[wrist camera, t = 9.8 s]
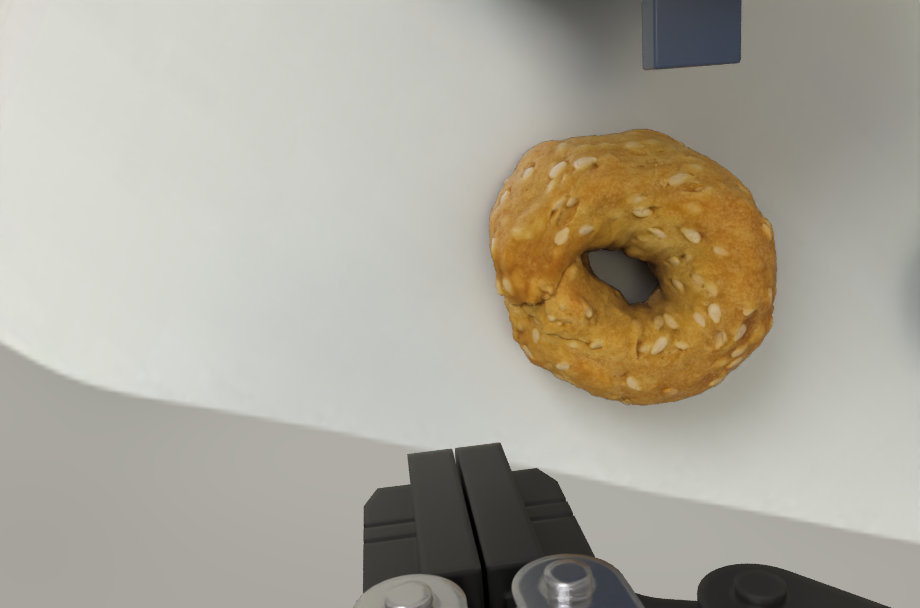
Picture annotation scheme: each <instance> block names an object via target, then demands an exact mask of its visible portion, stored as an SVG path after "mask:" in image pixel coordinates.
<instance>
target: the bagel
mask: <svg viewBox="0 0 920 608" xmlns="http://www.w3.org/2000/svg"><path fill="white" fill-rule="evenodd" d="M489 233H490V251H491V256H492V259H493V262H494V267H495V270H496V288H497V291H498V294H500V295H501V296H502V295H503V296H504V299H505V305H506V308H507V310H508V312H509V319H510V321H511V323H512V330H513V338H514V340H515V341H516V342H518V343H519V344H520V347H521V348H522V349H523V351H524V352H525V354H526V355H527V357H528V358H529V360H530V361H531V362H532V363H533V364H535V365H537V366H540V367H542V368H544V369H547V370H549V371H551V372H552V373H553V374H554V375H555V376H556V377H557V378H560V379H561V380H564V381H567V382H570V383H571V384H573V385H575V386H576V387H578V388H582V389H584V390H586V391H588V392H589V393H590V394H591V395H594V396H599V397H603V398H606V399H609V400H617V401H620V402H622V403H624V404H625V405H630V404H632V405H651V404H659V403H667V402H675V401H679V400H682V399H685V398H688V397H691V396H695V395H698V394H701V393H702V392H704V391H706V390H708V389H710V388H712V387H714V386H716V385H718V384H719V383H721V382H722V381H723V380H724V378H725V377H726V376H727V375H728V374H729V373H730V372H731V371H732V370H734V369H736V368H737V367H738V366H739V365H740V364H741V363H742V362H743V361H744V360H745V359H746V358H748V357H749V355H750V354H751V353H752V352H753V351H754V350H755V349H756V348H757V347H758V346H759V345H760V344H761V343H762V341H763V339H764V337H765V336H766V335H767V333H768V332H769V330H770V329H771V326H772V323H773V317H772V313H773V310H774V306H773V303H774V299H775V295H776V272H777V266H776V250H775V242H774V232H773V229H772V226H771V224H770V222H769V221H768V219H766V218H764V217H763V216H762V214H761V212H760V211H759V210H758V209H757V207H756V205H755V202H754V199H753V196H752V194H751V193H750V191H749V190H748V188H747V187H745V186H744V185H743V184H742V183H741V182H740V180H739V179H737V178H736V177H735V176H734V175H732V174H731V173H730V172H729V171H728V170H727V169H725V168H723V167H722V166H720V165H719V164H717V163H716V162H715V161H713V160H711V159H710V158H708V157H707V156H705V155H702V154H700V153H697V152H696V151H694V150H692V149H690V148H689V147H686V146H685V145H684V144H683V143H681V142H679V141H676V140H674V139H673V138H671V137H669V136H667V135H666V134H663V133H660V132H657V131H653V130H648V129H635V130H629V131H625V132H622V133H618V134H609V135H601V136H596V135H593V136H583V137H573V138H569V139H566V140H563V141H553V140H551V141H546V142H543V143H540V144H538V145H537V146H535V147H533V148H532V149H530V150H528V151H527V152H526V153H525V154H524V155H523V157H522V159H521V160H520V162H519V163H518V165H517V166H516V168H515V170H514V172H513V174H512V175H511V176H510V177H508V178H506V179H505V182H504V185H503V188H502V190H501V191H500V192H499V194H498V198H497V201H496V203H495V205H494V207H493V208H492V210H491V213H490V218H489ZM601 249H608V250H610V251H615V250H619V249H621V250H622V251H623V252H624V254H625V255H626V256H628V257H631V258H638V259H640V260H642V261H646V262H647V264H648V266H649V268H650V269H651V271H652V273H653V275H654V276H655V277H656V279H657V280H658V281H659V286H657V287H656V289H655V290H654V291H653V292H652V294H651V295H650V297H649V299H648V300H647V301H645V302H644V303H643V302H642V303H635V304H631V305H630V304H628V302H627V301H626V299H625V298H624V296H623V295H622V293H621V292H620V291H619V290H617V289H615V288H614V287H612V286H611V285H609V284H606V283H604V282H603V281H602V280H600V279H599V278H597V276H596V275H595V274H594V273H593V271H592V269H591V266H590V262H589V258H588V253H589V252H592V251H598V250H601Z"/></svg>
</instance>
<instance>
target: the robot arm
mask: <svg viewBox="0 0 920 608" xmlns="http://www.w3.org/2000/svg"><path fill="white" fill-rule="evenodd" d="M407 455H408V465H409V473H410V483H411V484H410V485H403V486H394V487H386V488H379V489H377V490H376V491H375V492H374V494H373V495H372V496H371V498H370V499H369V500H368V502H367V503H366V504H365V506H364V550H363V553H364V555H363V558H364V559H363V594H362V595H361V596H360V598H359V599H358V600H357V601H356V603H355V605H354V606H353V608H891V607H888V606H885V605H882V604H879V603H877V602H874V601H871V600H868V599H865V598H863V597H860V596H857V595H854V594H851V593H849V592H846V591H843V590H840V589H838V588H835V587H832V586H829V585H826V584H824V583H821V582H818V581H815V580H812V579H810V578H807V577H804V576H801V575H798V574H796V573H793V572H790V571H787V570H784V569H780V568H777V567H773V566H768V565H760V564H735V565H729V566H725V567H722V568H718V569H716V570H714V571H712V572H710V573H709V574H708V575H706V576H705V577H704V578H703V579H702V580H701V582H700V584H699V586H698V591H697V601H687V600H673V599H661V598H653V597H648V596H643V595H640V594H637V593H635V592H634V591H633V590H632V588H631V586H630V585H629V584H628V582H627V581H626V579H625V578H624V576H623V575H622V574H621V572H620V571H619V570H618V569H616V568H615V567H614V566H613V565H611V564H609V563H608V562H606V561H603V560H601V559H598V558H595V556H594V554H593V552H592V550H591V548H590V546H589V544H588V542H587V540H586V538H585V536H584V534H583V532H582V530H581V528H580V526H579V524H578V522H577V520H576V518H575V516H573V513H572V510H571V508H570V506H569V504H568V502H566V498H565V496H564V494H563V492H562V490H561V488H560V486H559V484H558V482H557V481H556V480H554V479H553V478H551V477H550V476H548V475H547V474H545V473H544V472H542V471H540V470H539V469H537V468H534V469H526V470H518V471H511V469H510V466H509V463H508V461H507V458H506V456H505V453H504V451H503V448H502V446H501V443H492V444H484V445H476V446H468V447H460V448H455V458H456V463H455V459H454V455H453V451H452V449H445V450H437V451H429V452H421V453H413V454H407Z"/></svg>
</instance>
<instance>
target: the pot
mask: <svg viewBox="0 0 920 608" xmlns="http://www.w3.org/2000/svg"><path fill="white" fill-rule="evenodd" d="M642 56H643V69H644V70H657V69H670V68H683V67H697V66H710V65H723V64H735V63H739V62H740V60H741V0H642Z"/></svg>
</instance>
